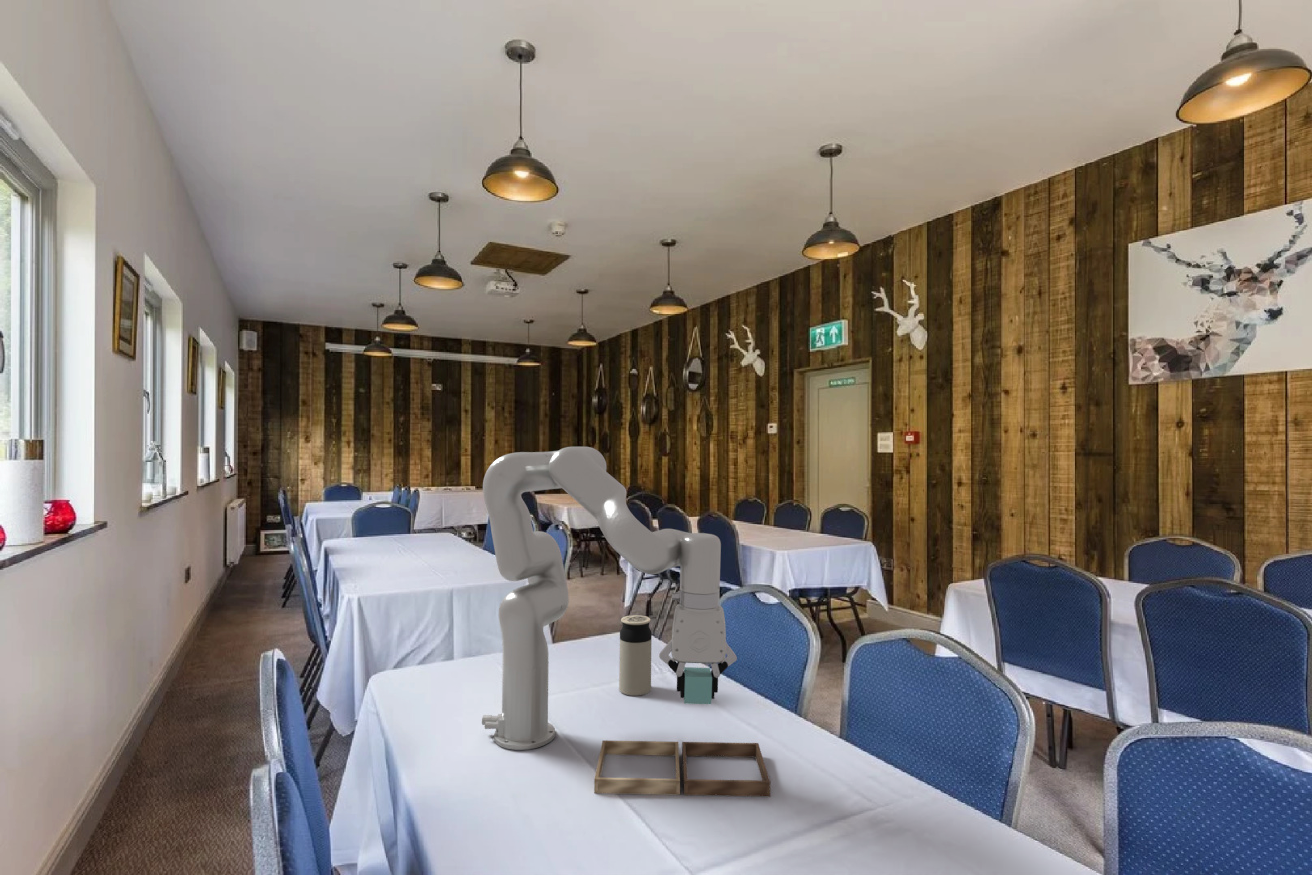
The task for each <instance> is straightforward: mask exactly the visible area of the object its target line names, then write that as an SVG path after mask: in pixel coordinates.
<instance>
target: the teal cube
mask: <svg viewBox="0 0 1312 875" xmlns="http://www.w3.org/2000/svg"><path fill="white" fill-rule="evenodd" d="M711 670H712V669H711V668H710V667H695V666H694V667H689V666H687V667H686V666H685V667H684V675H685V691H684V697H683V703H684V704H686V705H687V704H689V705H712V700H713V699H712V675H711Z"/></svg>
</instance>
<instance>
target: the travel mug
mask: <svg viewBox="0 0 1312 875" xmlns="http://www.w3.org/2000/svg"><path fill="white" fill-rule="evenodd" d="M651 620H652V619H651V618H650V617H649V616H645V615H638V614H636V615H626V616H623V617H621V619H620V621H621V623H622V627H621V628H620V631H619V679H618V681H619V683H618V684H619V686H618V689H619V692H621V693H622V694H624V695H626V696H631V697H639V696H644V695H646V694H648V693H650V692H651V691H652V630H651V628H650V623H651Z"/></svg>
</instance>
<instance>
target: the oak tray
mask: <svg viewBox="0 0 1312 875" xmlns="http://www.w3.org/2000/svg"><path fill="white" fill-rule="evenodd" d="M606 755H611V756H612V755H620V756H623V755H625V756H673V757H674V758H675V759H674V760H675V763H674V764H675V765H674V766H675V778H651V777H650V778H649V777H648V778H646V777H645V778H642V777H602V772H603V768H604V762H605V757H606ZM595 769H596V771H595V775H594V778H593V779H594V780H593V785H594V787H593V793H594V794H609V795H613V794H615V795H616V794H617V795H619V794H621V795H669V796H670V795H673V796H675V795H676V796H677V795H678V796H680V795H681V792H680V790H681V777H680V776H681V775H680V751H679V741H656V740H655V741H651V740H649V741H648V740H608V739H607V740H603V739H602V743H601V746H600V751H599V756H598V760H597V764H596V768H595Z"/></svg>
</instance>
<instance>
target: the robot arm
mask: <svg viewBox="0 0 1312 875" xmlns="http://www.w3.org/2000/svg"><path fill="white" fill-rule="evenodd" d="M607 467H608V466H607V462H606V459H605V458H604V456H603V454H602V453H601V452H600V451H599V450H597V449H596V448H594V447H589V446H567V447H566V446H565V447H563V448H561V449H559V450H553V451H535V452H533V451H532V452H531V451H530V452H529V451H526V452H525V451H520V452H518V451H517V452H512V453H507V454H504V455H502V456H500V457H498V458H496V459H495V460H494V461H493V462H492V463H491V464H490V466H488V468H487V470H486V472H485V474H484V477H483V480H482V481H483V482H482V494H483V499H484V503H485V504H484V505H485V507H486V510H487V515H488V519H489V523H490V531H491V537H492V544H493V548H494V549H493V550H494V554H495V560H496V564H497V569H498V571H499V574H500V576H501V577H503V579H505V580H507V581H509V582H519V581H523V580H527V582H528V584H526V585H523V586H520V587H517V588H515V589H513V590H512V591H510V592H508V593H507V594H506V595H505V596H504V597H503V599H502V600H501V602H500V605H499V606H498V623H499V628H500V633H501V634H500V635H501V641H502V644H501V645H502V681H501V682H502V684H501V685H502V686H501V687H502V688H501V689H502V690H501V691H502V696H501V698H502V699H501V713H498V714H497V715H491V714H490V715H489V714H483V715H482V719H481V725H482V726H484V729H485V730H493V729H495V731H494V735H493V737H494V738H493V740H494V742H495V743H496V745H497V746H499V747H502V748H504V749H507V750H515V751H523V750H524V751H525V750H527V751H528V750H533V749H534V750H535V749H537V748H541V747H543V746H545V745H547V744H549V743H550V742H552V741H553V739H554V738H555V737H556V727H555V726H554V725H553V724H552V723H550V722H549V664H550V663H549V646H548V641H547V638H546V636H545V632H544V628H545V627H546V626H548V625H550V624H552V623H554V622H556V621H558V620H559V619H561V618H562V617H563V616H564V615H565V613H566V611H567V609H568V606H569V602H570V601H569V600H570V598H569V597H570V596H569V589H568V583H567V579H566V574H565V567H564V562H563V556H562V552H561V549H560V546H559V544H558V543H557V541H556V539H555V538H554V537H553V536H552V535H550V534H549V533H548V532H544V531H542V530H541V531H538V530H537V531H534V529H533V524H532V519H531V514H530V511H529V509H528V506H527V504H526V503H525V501H524V499H523V498H522V495H523V493H528V492H539V491H545V490H546V491H547V490H554V489H555V490H557V489H562V490H564V491H565V493H567V494H568V495H569V497H571V498H572V499H574V500H575V501H576V502H577V503H578V504H579V505H580V506H581V507H583V508H584V509H585V511H587V512H588V513H589V514H590V515H591V516H592V517H593V518H594V519H595V520H596V521H597V524H598V526H599V529H600V531H601V532H602V534H603V536H604V538H605V539H606V541H607V542H608V544H609V545H610V546H611V547H612V548H613V550H614V551H615V552H616V553H617V554H619V555H620V556H621V557H622V558H623V559H624V560H625V561H627V563H629V564H630V565H631V566H632V567H633V568H635V569H636V570H638V571H639V572H641V573H643V574H647V575H658V574H660V573H663V572H665V571H667V570H669V569H673V568H676V567H680V569H679V570H680V572H679V575H680V576H679V590H678V591H677V592H672V594H671V598H672V599H671V600H672V601H677V602H678V604H677V605H676V606H675V609H674V614H673V621H672V628H671V629H672V630H671V639H670V641H668V643H667V644H666V645H665V646H664V647H663V649H661V651H660V652H659V659H660V660H661V661H662V662H663V663H665V664H666V665H667V666H668V668H670V669H671V670H672V672H673V673H675V675H676V692H678V693H679V695H680V699H684V691H685V675H684V667H686V664H710V665H711V669H710V670H711V675H712V700H714V699H715V693H716V694H717V693H718V691H719V678H720V676H721V674H722V673H723V672H724V671H725V670H727V668H729V666H731V665H732V664H734V663H735V662H737V659H738V657H737V655H736V654H735V652H734V650H733V649H732V648H731V647H730V646H729V644H728V643H727V634H726V633H727V632H726V630H727V629H726V619H725V617H726V616H725V611H724V608H723V607H722V606H721V605H720V586H721V584H720V582H721V581H720V580H721V553H722V552H721V549H722V548H721V547H722V543H721V540H720V538H719V537H718V536H717V535H715V534H713V533H705V532H694V533H693V532H692V533H691V532H686V531H683V530H679V529H673V528H662V529H659V530H655V531H651V530H650V529H649V528H647V526H645V525H644V524H642V523H641V522H640V520H638V519H637V518H636V517H635V516H634V515H633V513H632V512H631V511H630V509H629V507H628V505H627V501H626V500H627V489H626V488H625V486H624V485H623V484H622V483H620V482H619V481H618V480H617V478H616V479H615V477H614V476H612V475H611V474H609V472H607ZM670 653H671V656H670Z"/></svg>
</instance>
